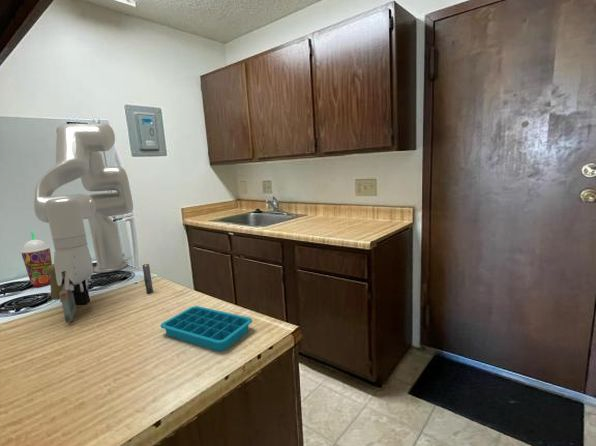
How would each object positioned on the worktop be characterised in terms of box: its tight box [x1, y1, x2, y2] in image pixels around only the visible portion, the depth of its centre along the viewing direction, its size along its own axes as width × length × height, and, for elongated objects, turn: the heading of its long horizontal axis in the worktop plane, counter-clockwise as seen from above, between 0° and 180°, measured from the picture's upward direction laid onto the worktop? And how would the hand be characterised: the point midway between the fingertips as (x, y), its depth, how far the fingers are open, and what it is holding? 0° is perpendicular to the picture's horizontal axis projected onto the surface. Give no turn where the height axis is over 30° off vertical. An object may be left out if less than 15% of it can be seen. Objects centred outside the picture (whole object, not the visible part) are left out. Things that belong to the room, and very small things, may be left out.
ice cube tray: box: [159, 305, 253, 352], centre depth 76 cm, size 12×20×3 cm, turn 61°
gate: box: [59, 285, 77, 324], centre depth 91 cm, size 19×2×8 cm, turn 29°
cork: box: [47, 263, 64, 300], centre depth 105 cm, size 6×6×11 cm
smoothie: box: [20, 231, 53, 288], centre depth 117 cm, size 8×8×20 cm
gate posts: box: [142, 263, 154, 295], centre depth 102 cm, size 2×24×10 cm, turn 96°
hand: (83, 303), depth 91 cm, fingers closed
